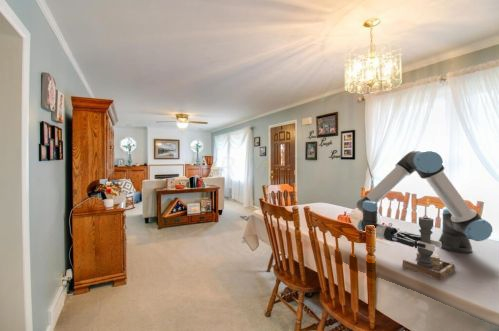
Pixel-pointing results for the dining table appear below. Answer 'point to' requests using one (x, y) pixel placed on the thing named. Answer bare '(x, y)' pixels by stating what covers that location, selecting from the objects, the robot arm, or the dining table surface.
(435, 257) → the offcut upper
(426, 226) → the candle holder
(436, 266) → the offcut lower
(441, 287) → the dining table surface
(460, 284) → the dining table surface
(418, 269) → the walnut caddy
